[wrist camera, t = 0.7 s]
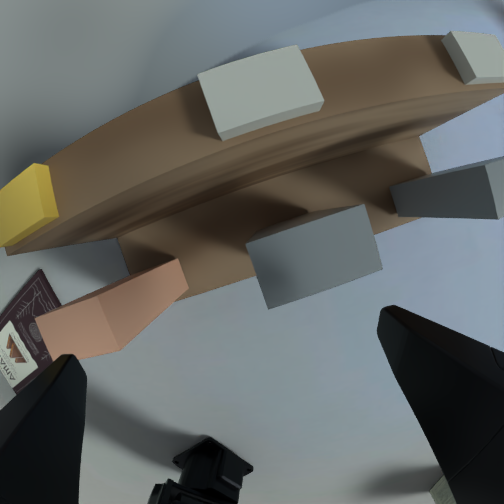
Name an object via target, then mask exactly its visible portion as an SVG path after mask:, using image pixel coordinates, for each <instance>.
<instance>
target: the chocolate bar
mask: <svg viewBox="0 0 504 504" xmlns="http://www.w3.org/2000/svg"><path fill="white" fill-rule="evenodd" d="M60 306H62V305H61V303H60V301H59V300H58V298H57V296H56V294H55V293H54V291H53V289H52V287H51V286H50V284H49V282H48V280H47V278H46V276H45V274H44V273H43V271H42V269H41V270H38V271H37V273H36V274H35V275H34V276H33V277H32V278H31V279H30V281H29V282H28V283H27V284H26V285H25V286H24V287H23V289H22V290H21V291H20V292H19V293H18V295H17V296H16V297H15V298H14V299H13V301H12V302H11V303H10V304H9V306H8V307H7V308H6V309H5V311H4V312H3V313H2V315H1V316H0V370H1V371H2V373H3V375H4V376H5V378H6V379H7V381H8V382H9V384H10V385H11V387H12V388H13V390H14V391H15V393H16V394H18V393H19V392H20V391H21V390H23V389H24V388H25V387H26V386H27V385H28V384H29V383H30V382H31V381H32V380H33V379H35V378H36V377H37V376H38V375H39V374H40V373H41V372H42V371H43V370H44V369H46V368H47V367H48V366H49V365H50V364H51V363H52V362H53V360H52V358H51V355H50V353H49V351H48V349H47V347H46V345H45V342H44V340H43V338H42V335H41V333H40V331H39V328H38V326H37V323H36V321H35V318H36V317H39V316H41V315H43V314H45V313H47V312H49V311H52V310H54V309H56V308H58V307H60Z"/></svg>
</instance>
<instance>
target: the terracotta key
mask: <svg viewBox="0 0 504 504" xmlns="http://www.w3.org/2000/svg"><path fill="white" fill-rule="evenodd" d="M188 289H189V287H188V284H187V282H186V279H185V276H184V273H183V271H182V268H181V265H180V262H179V260H178V258H177V259H174V260H171V261H169V262H166V263H163V264H160V265H158V266H155V267H152V268H149V269H147V270H144V271H141V272H138V273H136V274H133V275H130V276H128V277H126V278H123V279H121V280H119V281H116V282H114V283H112V284H110V285H107V286H105V287H103V288H100V289H98V290H96V291H94V292H91V293H89V294H87V295H85V296H83V297H80V298H78V299H76V300H74V301H71V302H69V303H67V304H65V305H63V306H60V307H58V308H56V309H54V310H52V311H49V312H47V313H45V314H43V315H41V316H39V317H36V318H35V321H36V323H37V326H38V328H39V331H40V333H41V335H42V338H43V340H44V342H45V345H46V347H47V349H48V351H49V353H50V355H51V358H52V360H53V361H55V360H56V359H57V358H58V357H59V356H60V355H62V354H74V355H75V356H76V357H77V359H78V360H80V359H85V358H90V357H94V356H99V355H103V354H108V353H112V352H116V351H120V350H121V349H123V348H124V347H125V346H126V345H127V344H128V343H129V342H130V341H131V340H132V339H133V338H135V337H136V336H137V335H138V334H139V333H140V332H141V331H142V330H143V329H144V328H146V327H147V326H148V325H149V324H150V323H151V322H152V321H153V320H154V319H155V318H157V317H158V316H159V315H160V314H161V313H162V312H163V311H164V310H165V309H166V308H168V307H169V306H170V305H171V304H172V303H173V302H174V301H175V300H176V299H178V298H179V297H180V296H181V295H182V294H183V293H184V292H185V291H186V290H188Z"/></svg>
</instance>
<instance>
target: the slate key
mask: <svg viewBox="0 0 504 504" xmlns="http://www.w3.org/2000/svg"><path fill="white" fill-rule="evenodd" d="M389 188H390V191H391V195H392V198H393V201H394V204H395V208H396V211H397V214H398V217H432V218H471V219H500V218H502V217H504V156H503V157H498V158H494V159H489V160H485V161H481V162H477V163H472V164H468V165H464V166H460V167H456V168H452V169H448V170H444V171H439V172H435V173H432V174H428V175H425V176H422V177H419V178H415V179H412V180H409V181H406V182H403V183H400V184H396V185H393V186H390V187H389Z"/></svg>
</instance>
